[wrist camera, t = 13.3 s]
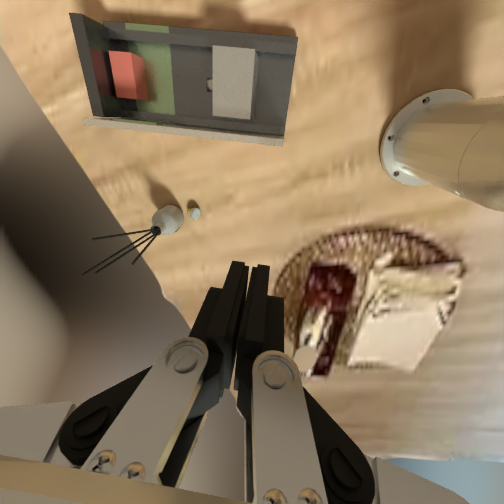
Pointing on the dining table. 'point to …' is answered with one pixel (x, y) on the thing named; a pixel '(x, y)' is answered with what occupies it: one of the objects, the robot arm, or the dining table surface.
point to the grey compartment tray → (183, 80)
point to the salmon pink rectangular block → (128, 75)
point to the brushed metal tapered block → (234, 82)
